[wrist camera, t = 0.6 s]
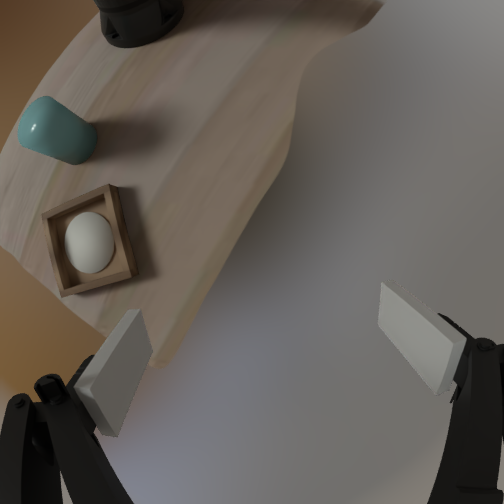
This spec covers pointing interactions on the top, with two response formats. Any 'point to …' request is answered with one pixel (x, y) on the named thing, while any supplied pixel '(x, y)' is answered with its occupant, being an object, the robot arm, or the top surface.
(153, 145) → the top surface
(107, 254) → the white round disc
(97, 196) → the walnut tray
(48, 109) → the teal cylinder
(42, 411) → the robot arm
